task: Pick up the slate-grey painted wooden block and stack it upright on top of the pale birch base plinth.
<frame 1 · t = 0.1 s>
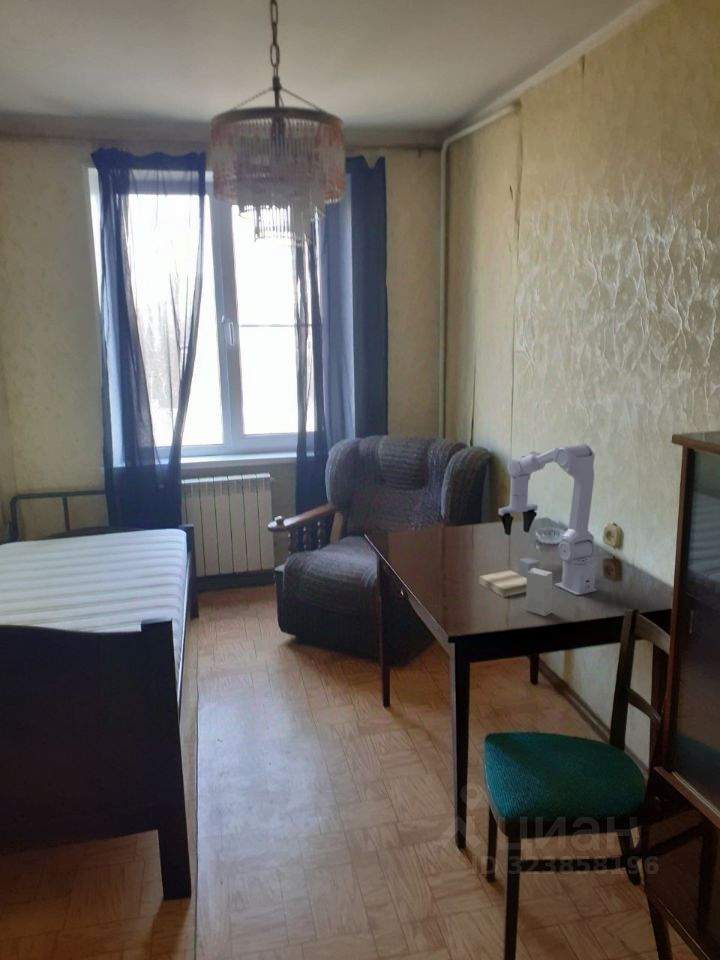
hand: (517, 533, 236), 10 cm above the table, tool pointing down, fingers open, 7 cm apart
slate block: (528, 575, 225), on the table
birch base: (506, 586, 215), on the table
skincare box: (537, 612, 197), on the table
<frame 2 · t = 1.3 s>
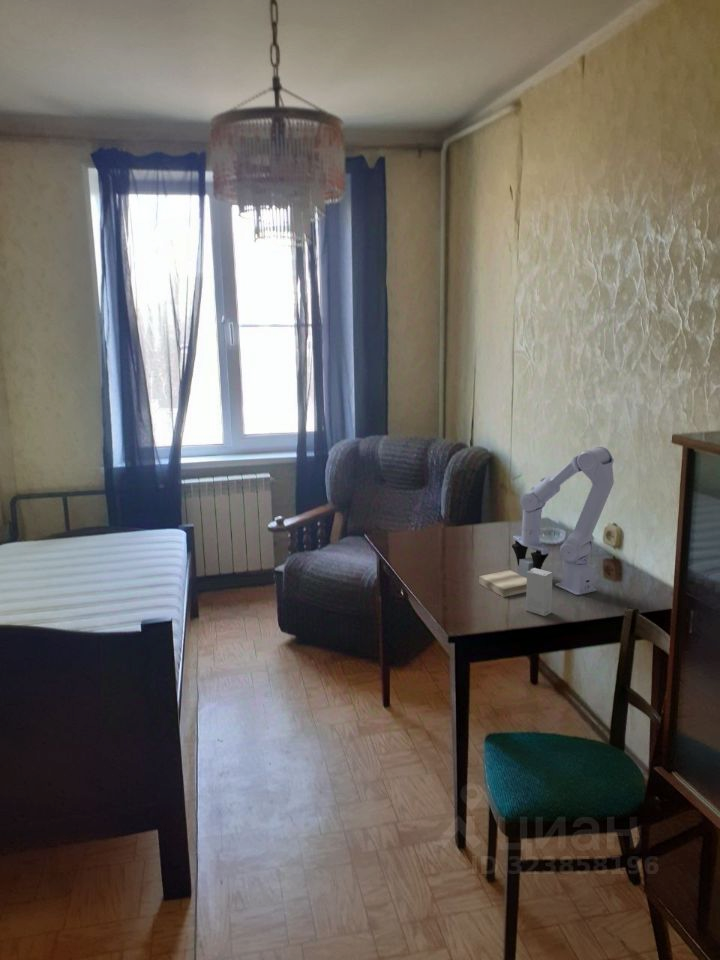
hand: (528, 569, 225), 2 cm above the table, tool pointing down, fingers open, 7 cm apart
nothing on the table moved.
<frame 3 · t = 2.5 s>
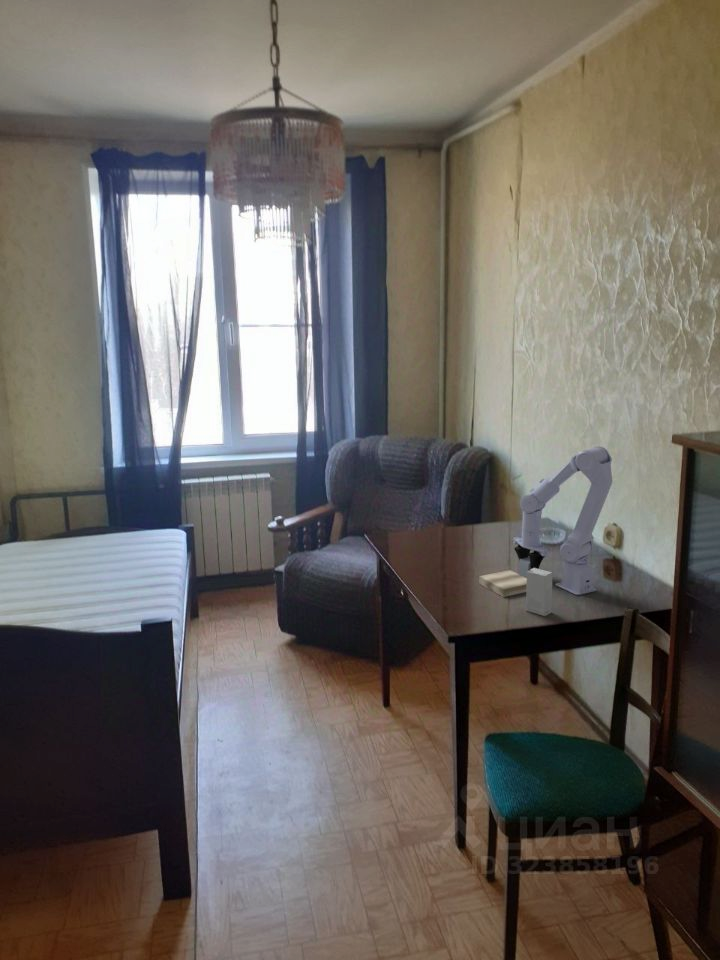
hand: (528, 570, 225), 1 cm above the table, tool pointing down, fingers closed on slate block, 4 cm apart
slate block: (528, 574, 225), on the table, touching gripper
everything else where it was.
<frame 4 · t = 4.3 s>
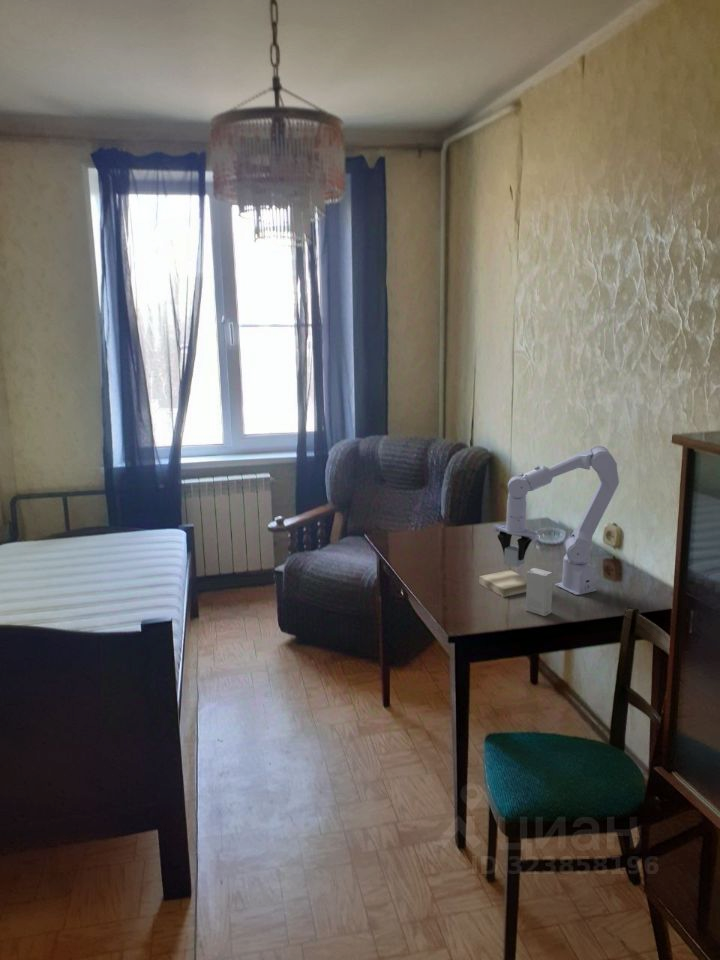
hand: (513, 557, 216), 8 cm above the table, tool pointing down, fingers closed on slate block, 4 cm apart
slate block: (514, 563, 216), point 7 cm above the table, touching gripper
everything else where it was.
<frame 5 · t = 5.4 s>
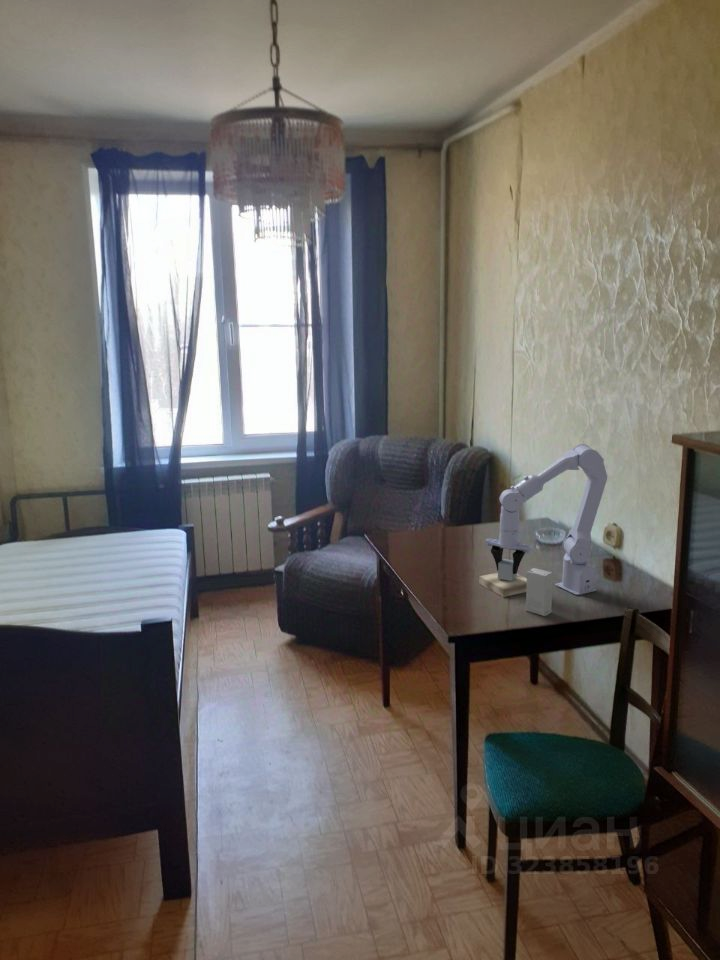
hand: (507, 571, 214), 5 cm above the table, tool pointing down, fingers closed on slate block, 4 cm apart
slate block: (507, 577, 215), point 3 cm above the table, touching gripper
everything else where it was.
when the fingers open (5 cm above the table, at t = 6.3 s): slate block stays where it is, resting on birch base.
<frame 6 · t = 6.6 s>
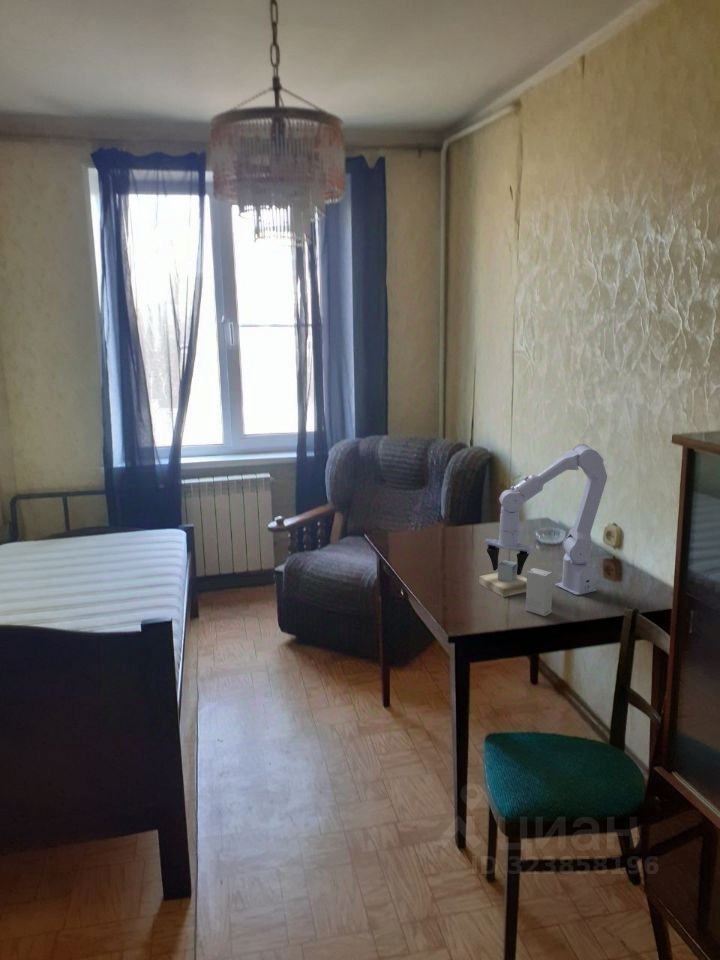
hand: (507, 571, 214), 5 cm above the table, tool pointing down, fingers open, 7 cm apart
slate block: (507, 578, 215), point 2 cm above the table, touching birch base
everything else where it was.
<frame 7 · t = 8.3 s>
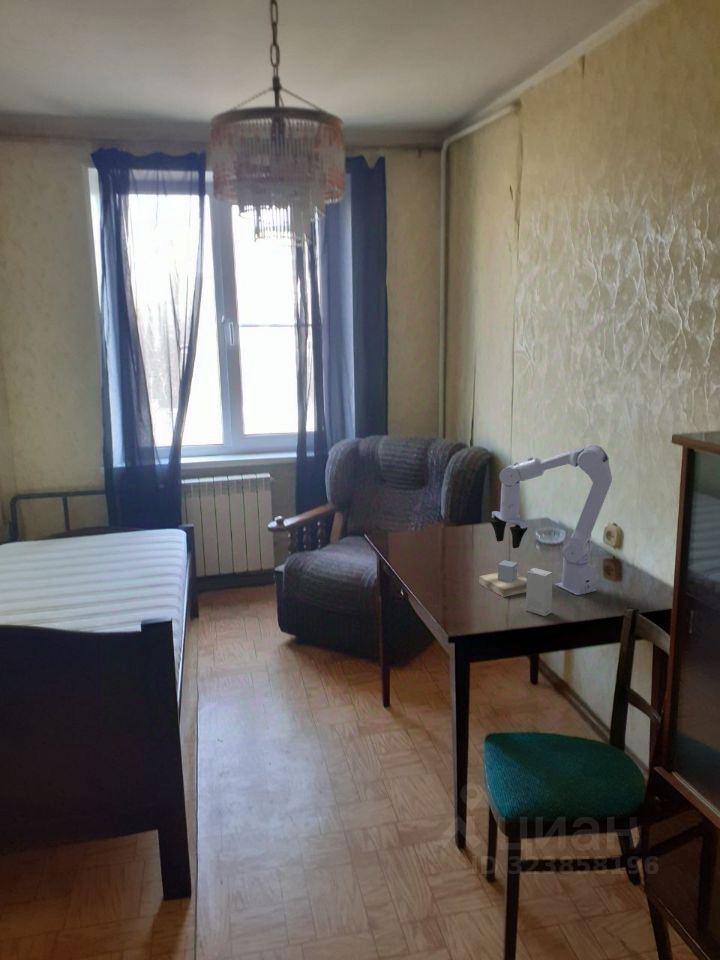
hand: (507, 544, 222), 10 cm above the table, tool pointing down, fingers open, 7 cm apart
nothing on the table moved.
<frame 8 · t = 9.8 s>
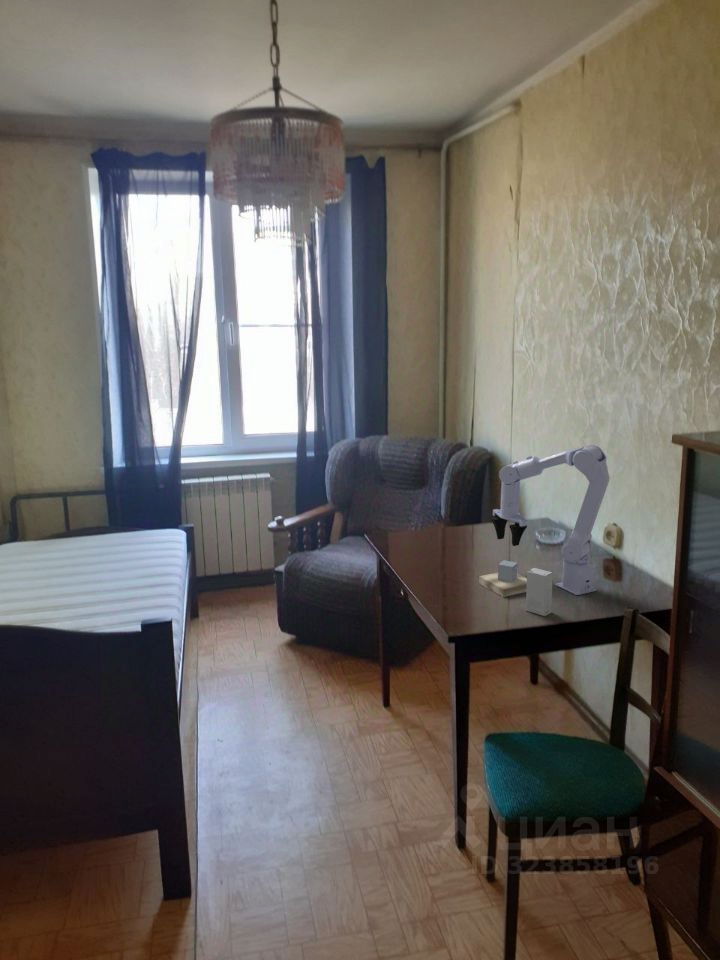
hand: (507, 542, 225), 10 cm above the table, tool pointing down, fingers open, 7 cm apart
nothing on the table moved.
at the end: slate block inside the target area on the birch base (0.4 cm from its centre), point 2.5 cm above the birch base's base; slate block tilted 0°; the gripper is holding nothing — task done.
